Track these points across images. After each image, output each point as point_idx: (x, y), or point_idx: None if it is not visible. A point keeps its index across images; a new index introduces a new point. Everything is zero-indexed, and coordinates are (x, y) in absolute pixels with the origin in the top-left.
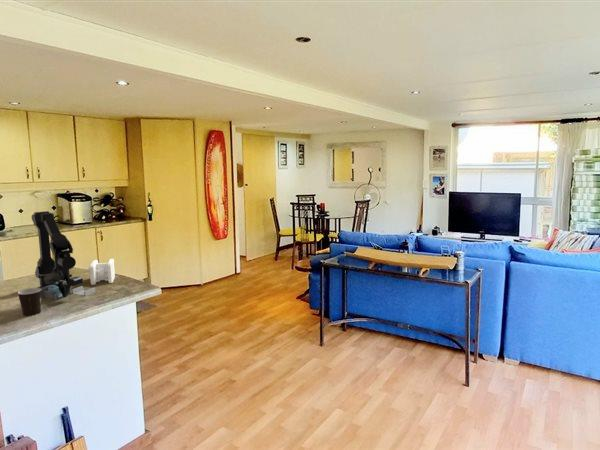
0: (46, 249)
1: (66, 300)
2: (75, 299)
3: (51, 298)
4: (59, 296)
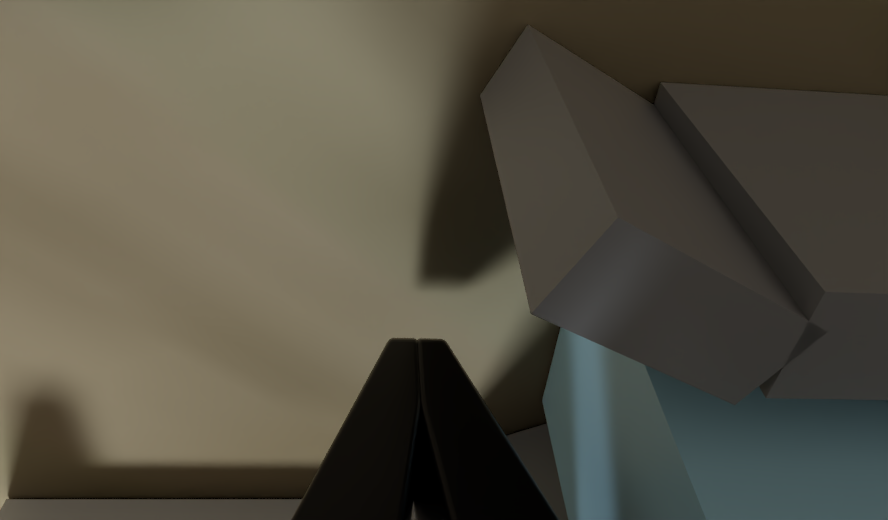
0: None
1: (250, 239)
2: (86, 362)
3: (782, 125)
4: None
